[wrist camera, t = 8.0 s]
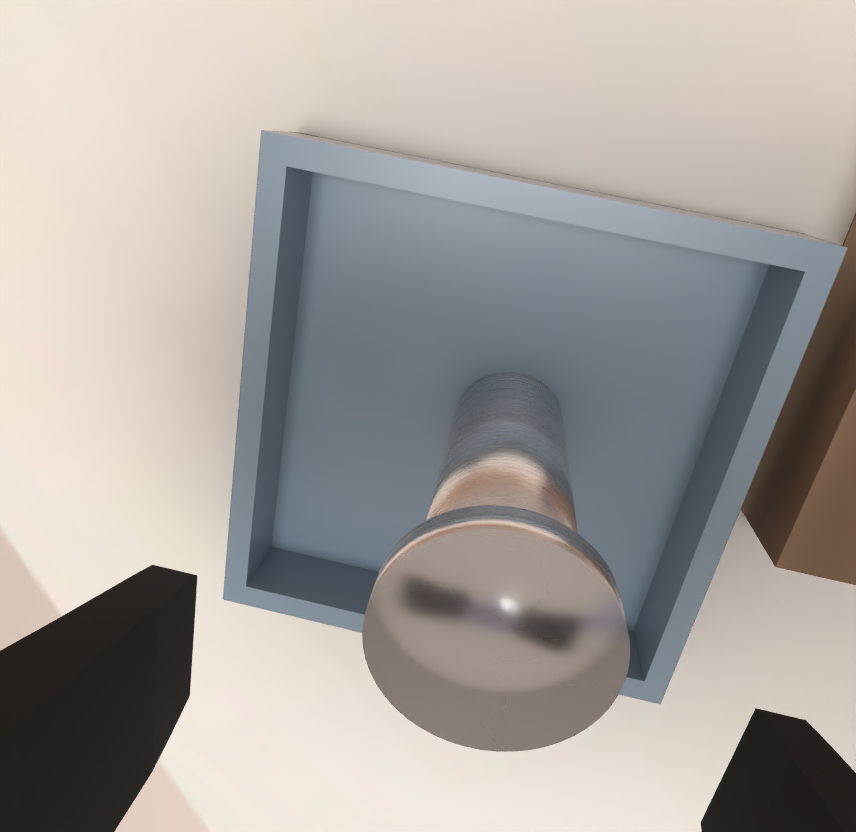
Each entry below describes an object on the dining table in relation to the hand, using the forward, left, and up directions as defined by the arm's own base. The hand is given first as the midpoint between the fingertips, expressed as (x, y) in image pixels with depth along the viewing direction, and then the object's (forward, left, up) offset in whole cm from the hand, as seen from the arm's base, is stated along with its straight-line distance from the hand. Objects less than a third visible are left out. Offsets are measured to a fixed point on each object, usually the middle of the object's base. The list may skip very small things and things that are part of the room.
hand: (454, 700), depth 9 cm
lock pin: (0, 0, -10) cm, 10 cm away
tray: (0, 0, -10) cm, 10 cm away
